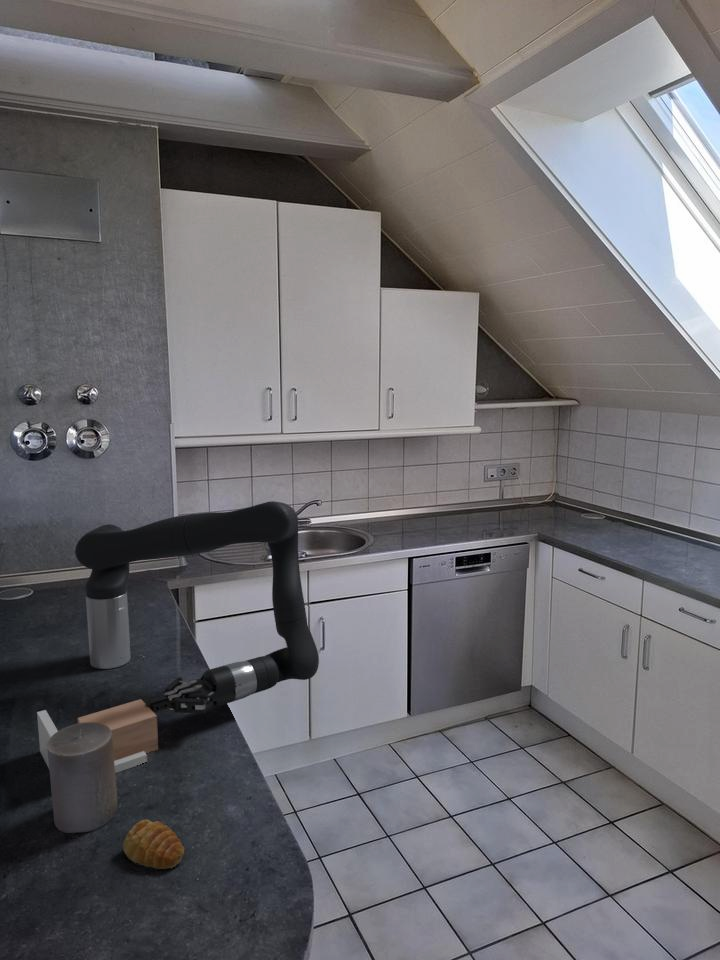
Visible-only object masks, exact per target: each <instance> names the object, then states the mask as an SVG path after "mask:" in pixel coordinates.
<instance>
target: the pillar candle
mask: <svg viewBox="0 0 720 960" xmlns="http://www.w3.org/2000/svg"><path fill="white" fill-rule="evenodd" d="M47 749H48V761H49V768H48V770H49V779H50V780H49V781H50V791H51V792H50V793H51V802H52V811H53V812H52V813H53V821H54V826H55V828H57V829H58V830H59V831H60V832H63V833H65V834H73V833H74V834H75V833H76V834H77V833H88V832H93V831H95V830H98V829H100V828H101V827H103V826H105V825H106V824H108V823H109V822H110V821H111V820H112V819H113V818H114V817H115V815H116V813H117V812H118V808H119V806H118V805H119V802H118V789H117V779H116V777H117V776H116V775H117V774H116V773H115V765H114V752H113V742H112V732H111V729H110V728H109V727H108V726H107V725H104V724H101V723H97V722H96V723H95V722H85V723H79V724H78V723H74V724H71V725H68V726H66V727H63V728H61V729H59V730H58V732H56V733H55V734H54V735H53V736H52V737H51V738H50V739H49V741H48V743H47Z"/></svg>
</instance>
